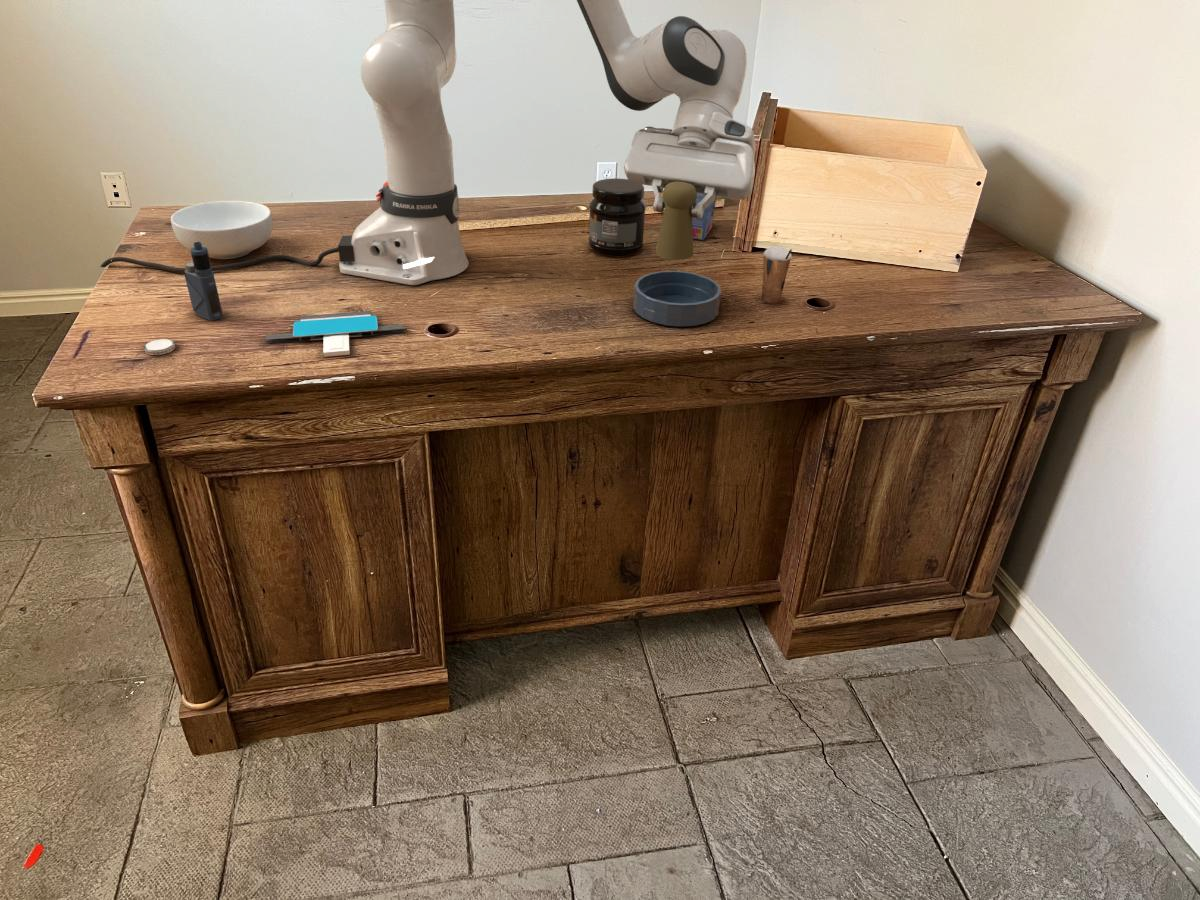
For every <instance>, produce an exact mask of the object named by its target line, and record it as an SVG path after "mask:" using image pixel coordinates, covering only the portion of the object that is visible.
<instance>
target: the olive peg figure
mask: <svg viewBox="0 0 1200 900" xmlns="http://www.w3.org/2000/svg"><path fill="white" fill-rule="evenodd" d="M662 198H663V201H664V203H665V204H666V205H665V208H664V212H663V213H662V214H663V215H662V220H661V224H660V229H659V232H658V238H657V243H656V247H655V254H656V255H657V256H658V257H659V258H663V259H666V260H671V261H672V260H673V261H684V260H688V259H691V258H692V257H693V256H694V239H693V225H692V215H691V211H692V206H693V204H694V203H695V201H696V198H697V192H696V188H695V187H694V186H693V185H692V184H690V183H686V182H671V183H669V184H667V185H666V186H665V188H664V189H663V192H662Z"/></svg>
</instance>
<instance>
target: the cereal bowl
mask: <svg viewBox="0 0 1200 900" xmlns="http://www.w3.org/2000/svg"><path fill="white" fill-rule="evenodd" d="M170 224H171V228H172V231H173V234H174V236H175V237H176V239H177V241H178V242H179V243H180V244H181V245H182V246H183V247H184V248H186V249H188V250H189V251H190V249H192V248H194V244H193V243H195V242H201V245H202V247H206V248H207V250H208V254H209V259H210V258H211V259H214V260H232V259H238V258H242V257H245V256H247V255H249V254H250V253H251V252H253V251H254V250H257V249H258V248H260V247H262V246H263V245H265V244H266V242H267V241H268V240H269V239H270V237H271V235H272V233H273V216H272V211H271V209H270V208H269V207H268V206H266V205H265V204H261V203H258V202H253V201H246V200H216V201H215V200H214V201H208V202H200V203H196V204H192V205H188V206H185V207H182V208H180V209H178V210H176V211H175V212H174V213H173V214H172V215H171V217H170Z"/></svg>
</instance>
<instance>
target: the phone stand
mask: <svg viewBox="0 0 1200 900" xmlns="http://www.w3.org/2000/svg"><path fill="white" fill-rule="evenodd" d="M402 333H403V334H404V333H405V325H404V324H403V323H401V324H391V325H389V324H388V325H387V324H386V325H379V323H378V317H377V315H373V312H372V310H364V311H350V312H337V313H325V314H311V315H309V314H308V315H299V316H298V320H296V321H294V322H293V329H292V332H286V333H276V334H275V333H274V334H266V335H265V340H266V345H267V344H277V343H278V344H283V343H284V344H285V343H296V342H297V343H298V342H309V341H321V340H323V343H322V344H323V345H322V346H323V347H322V348H323V349H322V350H323V352H322V354H323V358H326V357H327V358H328V357H335V356H350V355H351V351H350V350H351V349H350V338H359V337H360V338H361V337H370V336H371V337H372V336H383V335H385V336H386V335H394V334H402ZM279 346H281V345H279Z"/></svg>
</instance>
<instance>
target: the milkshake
mask: <svg viewBox="0 0 1200 900" xmlns="http://www.w3.org/2000/svg"><path fill="white" fill-rule="evenodd" d="M792 251H793V249H792V248H791V249H789V250H788V248H785V247H782V246H779V245H774V246H769V247H768V248H766V249H765V250H764V251H763V259H762V260H763V261H762V262H763V263H762V283H761V301H762V302H764V303H767V304H778V303H781V300H782V296H783V293H784V292H783V291H784V287H785V283H786V278H787V274H788V271H789V267H790V265H791V259H792V255H793V254H792V253H791V252H792Z"/></svg>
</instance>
